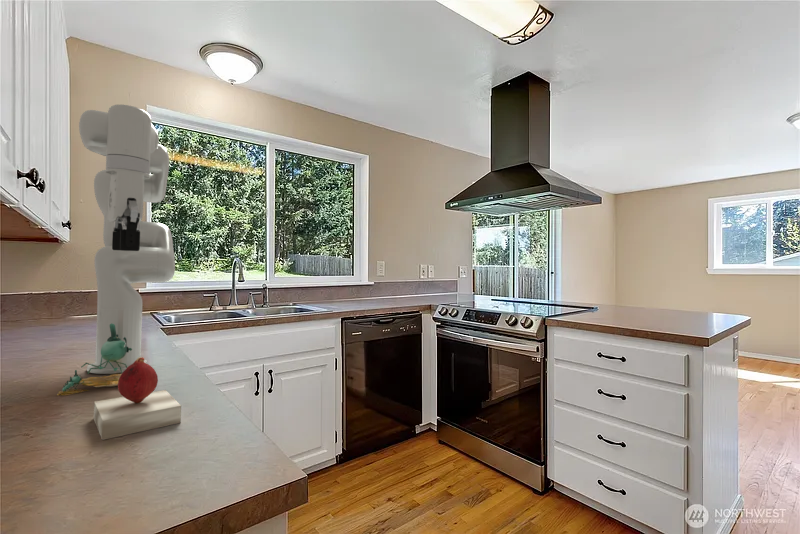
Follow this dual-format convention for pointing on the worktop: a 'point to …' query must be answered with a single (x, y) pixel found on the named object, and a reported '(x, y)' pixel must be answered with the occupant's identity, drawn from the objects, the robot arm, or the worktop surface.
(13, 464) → the worktop surface
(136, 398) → the onion
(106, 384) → the frog figurine
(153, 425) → the white rectangular block
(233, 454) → the worktop surface
